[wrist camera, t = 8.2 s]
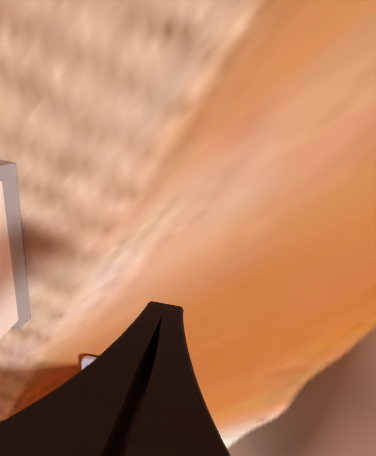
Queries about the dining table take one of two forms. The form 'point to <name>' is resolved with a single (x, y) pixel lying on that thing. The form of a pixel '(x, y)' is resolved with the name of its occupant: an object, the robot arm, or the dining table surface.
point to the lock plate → (11, 254)
